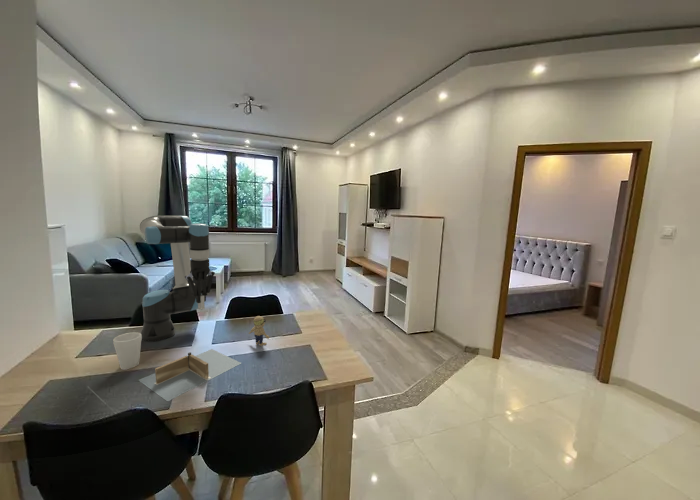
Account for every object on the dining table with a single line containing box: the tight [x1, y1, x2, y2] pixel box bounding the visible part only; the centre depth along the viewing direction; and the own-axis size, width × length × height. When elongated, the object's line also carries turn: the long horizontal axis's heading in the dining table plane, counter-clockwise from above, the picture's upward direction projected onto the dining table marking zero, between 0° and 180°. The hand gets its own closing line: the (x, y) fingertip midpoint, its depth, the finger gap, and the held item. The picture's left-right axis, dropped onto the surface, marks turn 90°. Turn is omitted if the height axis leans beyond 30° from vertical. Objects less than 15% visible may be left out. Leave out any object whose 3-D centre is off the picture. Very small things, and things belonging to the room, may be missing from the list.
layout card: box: [138, 348, 242, 402], centre depth 120 cm, size 22×31×1 cm
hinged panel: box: [187, 351, 209, 378], centre depth 119 cm, size 1×13×7 cm, turn 57°
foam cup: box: [112, 331, 143, 371], centre depth 122 cm, size 10×9×13 cm
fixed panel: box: [154, 355, 189, 384], centre depth 116 cm, size 1×12×6 cm, turn 148°
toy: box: [248, 315, 270, 346], centre depth 145 cm, size 13×6×15 cm, turn 65°
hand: (201, 308), depth 132 cm, fingers closed
